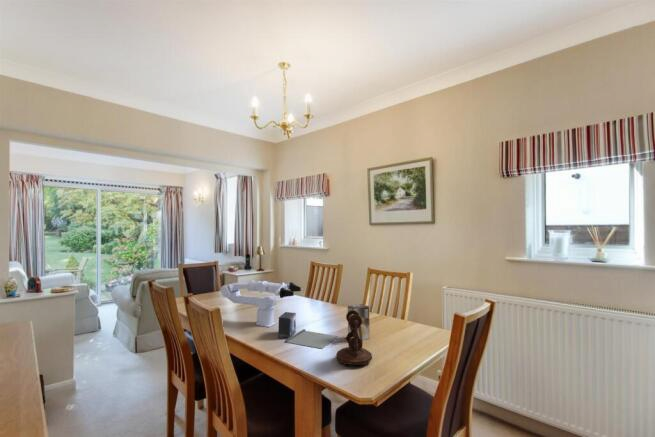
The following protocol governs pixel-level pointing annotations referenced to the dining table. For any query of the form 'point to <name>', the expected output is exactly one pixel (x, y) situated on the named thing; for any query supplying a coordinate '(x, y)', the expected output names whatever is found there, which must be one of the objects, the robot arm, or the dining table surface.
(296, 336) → the mat
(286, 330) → the small box
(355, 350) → the brown tall round-based figurine
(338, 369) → the dining table surface
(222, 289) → the robot arm
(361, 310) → the coffee box
